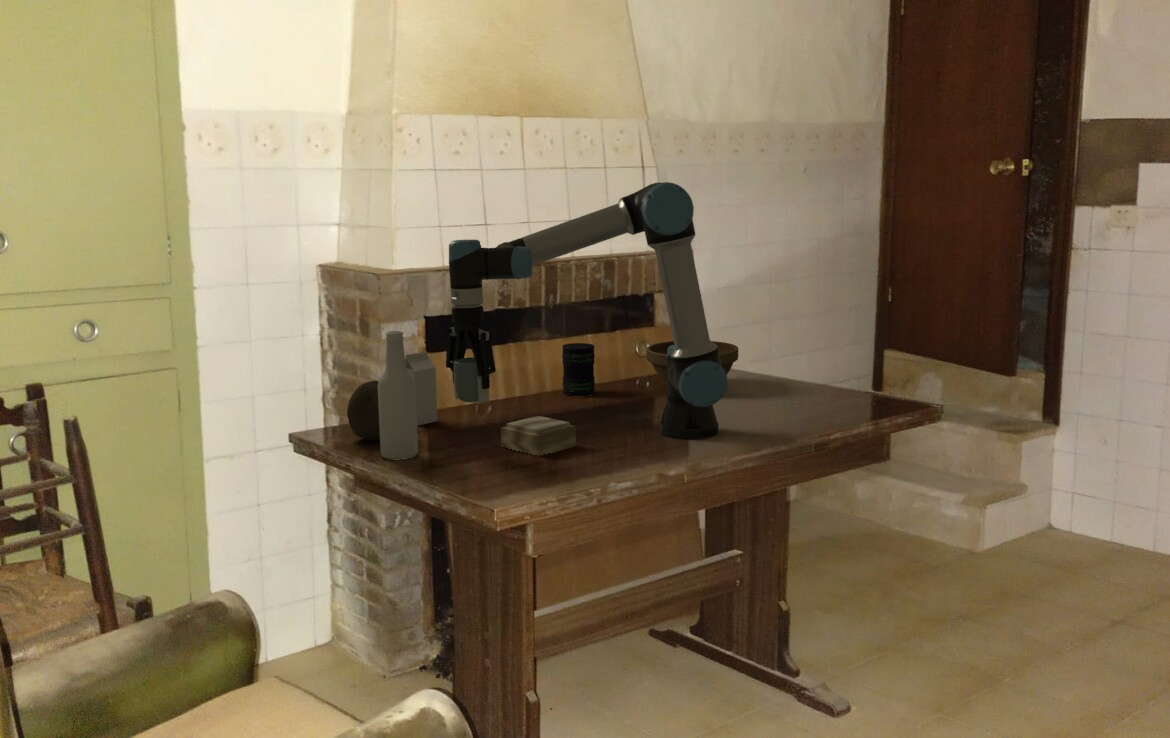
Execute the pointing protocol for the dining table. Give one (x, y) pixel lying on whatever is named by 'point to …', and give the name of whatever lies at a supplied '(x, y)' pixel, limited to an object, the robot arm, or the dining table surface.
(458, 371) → the cup
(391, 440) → the alcohol
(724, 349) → the flower pot
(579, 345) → the storage jar
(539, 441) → the pedestal
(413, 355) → the milk carton
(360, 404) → the black ball
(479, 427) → the dining table surface
